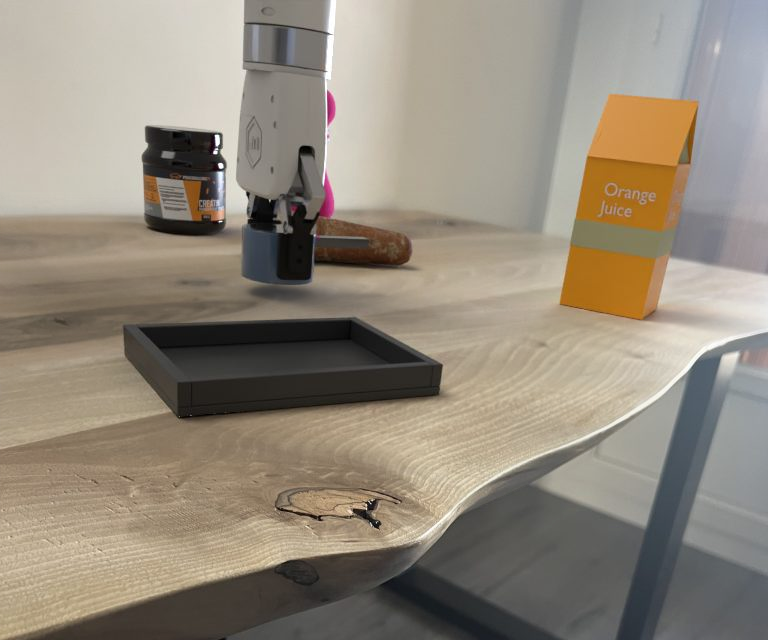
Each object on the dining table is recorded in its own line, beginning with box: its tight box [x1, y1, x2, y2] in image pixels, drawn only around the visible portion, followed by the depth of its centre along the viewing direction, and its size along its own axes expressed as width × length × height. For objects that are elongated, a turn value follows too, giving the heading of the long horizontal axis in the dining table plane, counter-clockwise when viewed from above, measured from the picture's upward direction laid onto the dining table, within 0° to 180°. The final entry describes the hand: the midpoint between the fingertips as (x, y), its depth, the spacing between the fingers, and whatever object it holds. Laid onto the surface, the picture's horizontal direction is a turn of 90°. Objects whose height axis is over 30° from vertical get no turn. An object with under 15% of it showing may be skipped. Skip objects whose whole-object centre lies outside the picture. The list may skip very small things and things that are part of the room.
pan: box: [240, 223, 369, 286], centre depth 78 cm, size 13×7×4 cm, turn 119°
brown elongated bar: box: [249, 208, 414, 266], centre depth 94 cm, size 6×19×6 cm, turn 96°
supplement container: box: [141, 124, 228, 236], centre depth 104 cm, size 10×10×12 cm
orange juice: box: [558, 93, 700, 321], centre depth 83 cm, size 8×9×20 cm
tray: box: [122, 316, 444, 418], centre depth 54 cm, size 18×13×2 cm
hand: (277, 269), depth 77 cm, fingers closed on pan, 6 cm apart
